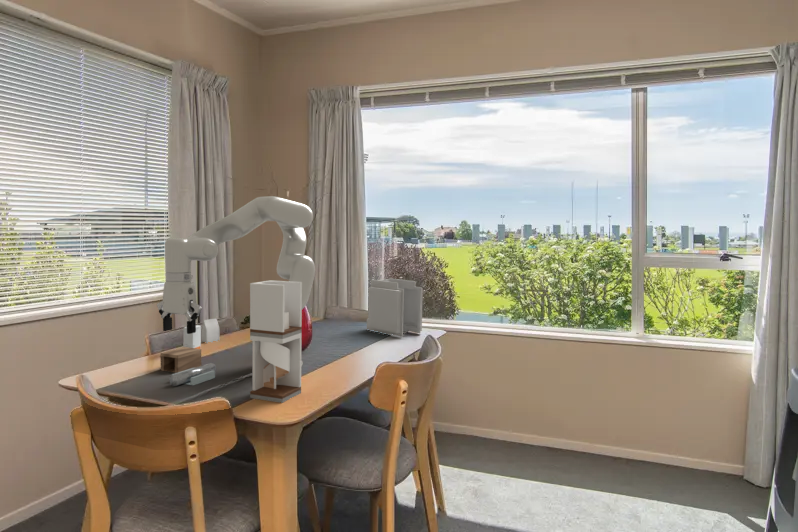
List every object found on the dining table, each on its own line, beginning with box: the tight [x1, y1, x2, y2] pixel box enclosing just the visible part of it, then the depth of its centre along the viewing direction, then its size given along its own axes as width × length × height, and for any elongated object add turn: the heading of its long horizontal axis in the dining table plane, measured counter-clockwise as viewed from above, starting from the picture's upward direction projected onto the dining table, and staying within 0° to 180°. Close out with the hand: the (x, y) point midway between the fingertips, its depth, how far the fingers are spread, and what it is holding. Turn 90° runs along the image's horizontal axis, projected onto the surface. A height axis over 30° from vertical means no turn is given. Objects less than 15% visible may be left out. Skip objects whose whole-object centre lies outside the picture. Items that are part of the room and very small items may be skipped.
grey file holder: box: [366, 277, 424, 337], centre depth 274 cm, size 17×27×26 cm, turn 44°
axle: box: [168, 362, 217, 387], centre depth 181 cm, size 17×4×4 cm, turn 157°
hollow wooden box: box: [159, 346, 202, 374], centre depth 196 cm, size 8×11×8 cm
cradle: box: [171, 368, 216, 386], centre depth 181 cm, size 9×10×4 cm
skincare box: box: [182, 324, 202, 350], centre depth 219 cm, size 6×4×12 cm
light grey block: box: [201, 318, 220, 344], centre depth 247 cm, size 4×7×10 cm, turn 146°
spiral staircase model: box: [249, 280, 303, 404], centre depth 170 cm, size 11×11×35 cm
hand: (179, 331), depth 175 cm, fingers open, 9 cm apart
